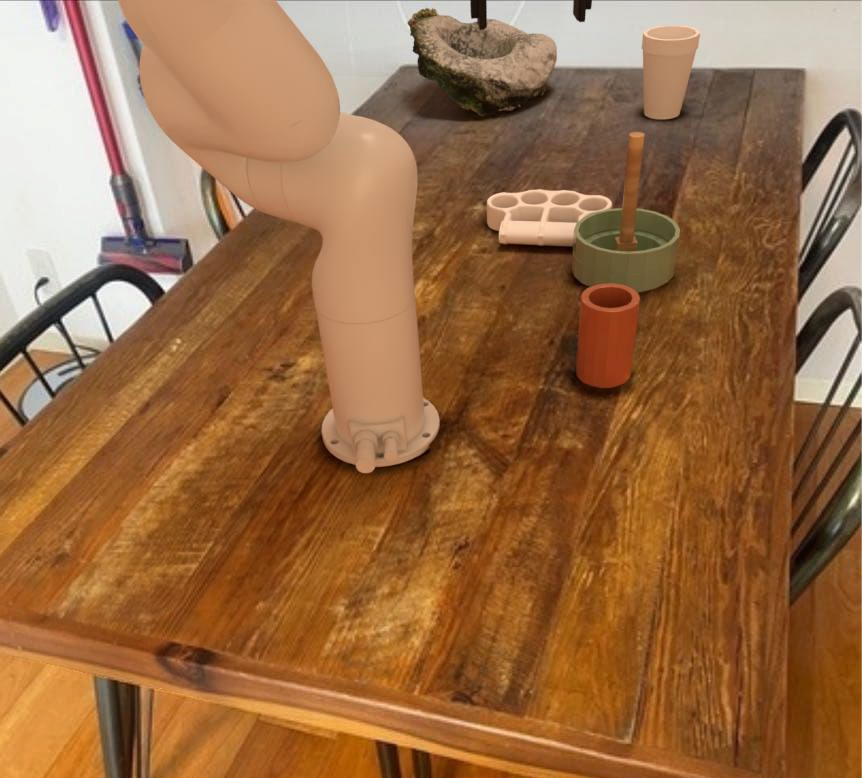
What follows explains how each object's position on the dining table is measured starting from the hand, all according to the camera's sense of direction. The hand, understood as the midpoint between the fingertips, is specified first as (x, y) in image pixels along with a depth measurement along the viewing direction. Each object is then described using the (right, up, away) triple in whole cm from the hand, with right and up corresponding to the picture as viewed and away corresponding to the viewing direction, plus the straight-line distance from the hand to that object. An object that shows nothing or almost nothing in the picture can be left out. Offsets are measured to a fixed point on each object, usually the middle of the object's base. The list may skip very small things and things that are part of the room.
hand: (530, 22), depth 85 cm
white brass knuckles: (+7, -6, +40) cm, 41 cm away
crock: (+9, -33, +12) cm, 36 cm away
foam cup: (+32, +26, +71) cm, 82 cm away
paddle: (+16, -15, +28) cm, 36 cm away
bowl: (+15, -16, +29) cm, 36 cm away
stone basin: (+1, +37, +84) cm, 92 cm away
